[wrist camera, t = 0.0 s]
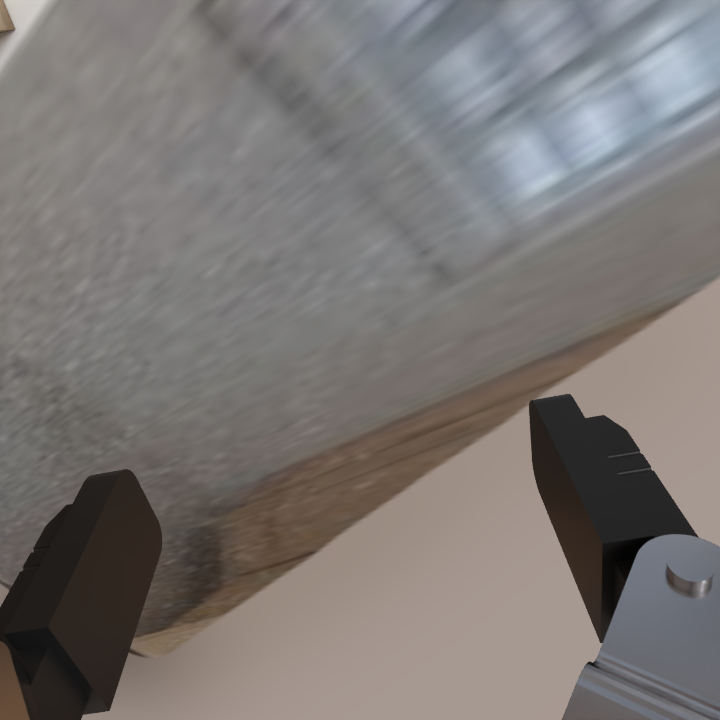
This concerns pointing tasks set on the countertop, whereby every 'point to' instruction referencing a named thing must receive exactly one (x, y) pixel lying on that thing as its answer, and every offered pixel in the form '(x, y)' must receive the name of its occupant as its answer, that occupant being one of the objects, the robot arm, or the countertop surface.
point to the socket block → (5, 19)
